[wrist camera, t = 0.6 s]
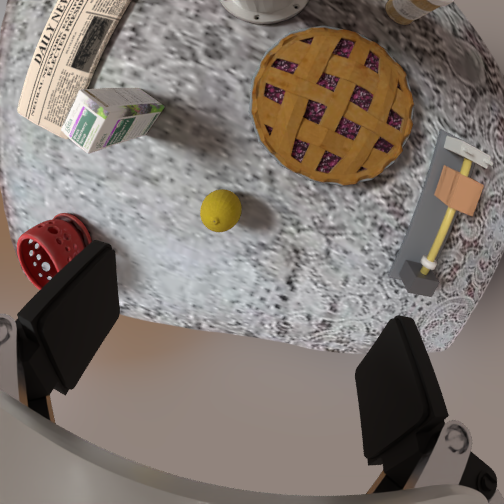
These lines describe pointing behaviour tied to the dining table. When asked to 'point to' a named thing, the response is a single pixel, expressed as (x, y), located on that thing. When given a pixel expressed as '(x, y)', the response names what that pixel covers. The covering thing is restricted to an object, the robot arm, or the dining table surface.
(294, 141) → the pie
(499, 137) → the dining table surface
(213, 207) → the lemon
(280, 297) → the dining table surface
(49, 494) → the robot arm
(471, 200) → the sleeve
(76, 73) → the newspaper
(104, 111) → the syrup box
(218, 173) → the dining table surface
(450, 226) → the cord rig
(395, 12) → the sprinkles bottle
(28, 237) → the plant pot
